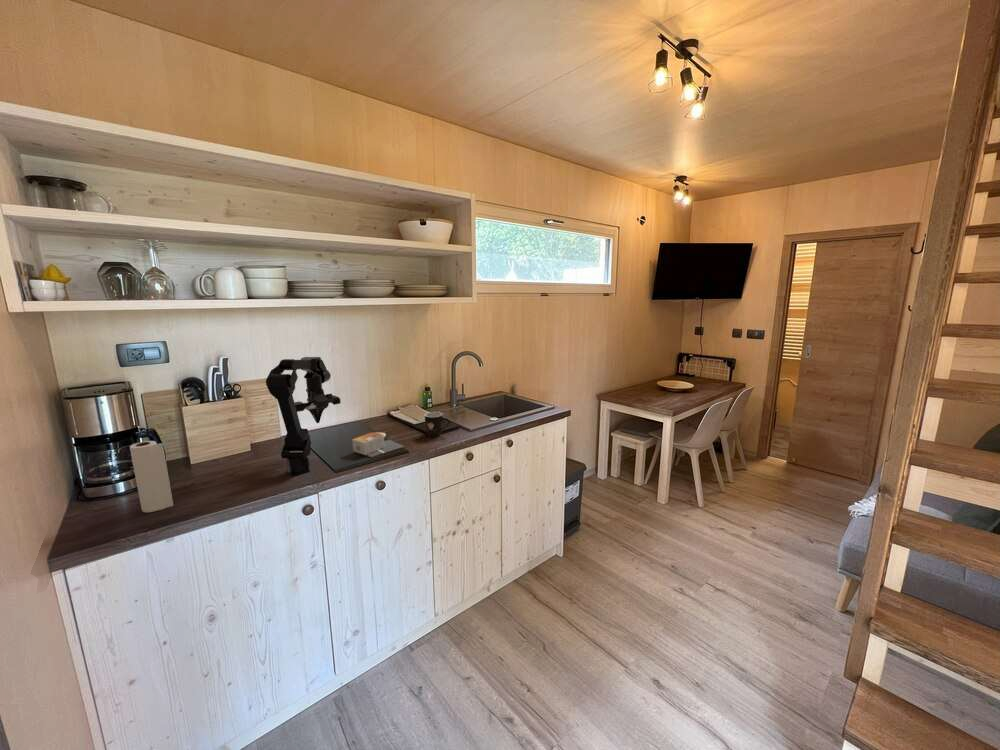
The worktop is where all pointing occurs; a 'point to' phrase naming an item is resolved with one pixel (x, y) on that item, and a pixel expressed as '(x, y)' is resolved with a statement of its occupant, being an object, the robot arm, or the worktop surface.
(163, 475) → the paper towel roll
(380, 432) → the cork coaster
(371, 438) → the small box
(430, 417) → the coffee mug
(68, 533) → the worktop surface
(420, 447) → the worktop surface
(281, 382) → the robot arm
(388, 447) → the mat
